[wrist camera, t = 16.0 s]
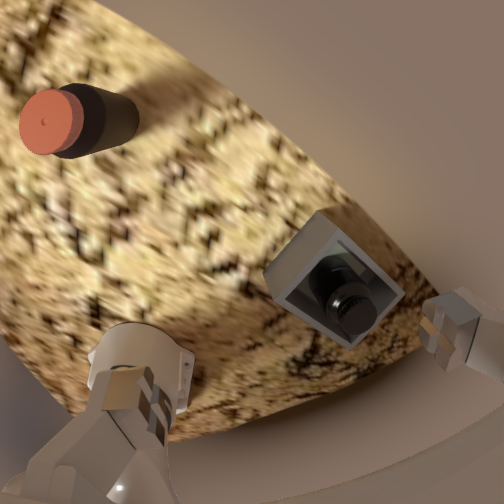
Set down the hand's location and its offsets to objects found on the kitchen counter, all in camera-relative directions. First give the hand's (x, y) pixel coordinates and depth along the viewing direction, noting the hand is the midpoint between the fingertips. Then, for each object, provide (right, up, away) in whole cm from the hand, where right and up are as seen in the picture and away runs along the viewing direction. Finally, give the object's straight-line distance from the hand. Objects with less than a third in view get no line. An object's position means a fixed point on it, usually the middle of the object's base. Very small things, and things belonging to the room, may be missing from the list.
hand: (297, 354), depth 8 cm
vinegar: (-19, +20, +28) cm, 39 cm away
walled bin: (+10, 0, +40) cm, 41 cm away
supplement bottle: (+10, -1, +39) cm, 41 cm away
